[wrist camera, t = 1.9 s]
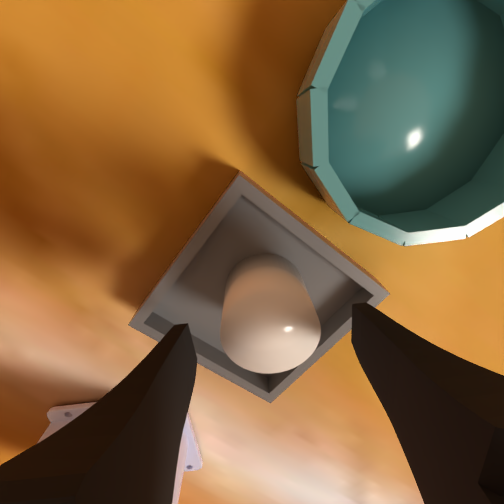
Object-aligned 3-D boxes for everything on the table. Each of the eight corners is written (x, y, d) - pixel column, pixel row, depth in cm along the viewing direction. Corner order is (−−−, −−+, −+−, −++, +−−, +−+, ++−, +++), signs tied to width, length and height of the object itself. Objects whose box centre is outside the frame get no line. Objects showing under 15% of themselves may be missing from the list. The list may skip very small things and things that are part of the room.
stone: (231, 325, 17) (228, 378, 13) (219, 258, 15) (211, 298, 11) (304, 316, 17) (322, 367, 13) (300, 248, 15) (319, 285, 11)
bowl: (301, 232, 15) (316, 257, 12) (287, -4, 11) (304, -58, 8) (490, 208, 15) (555, 227, 12) (542, -41, 11) (659, -112, 8)
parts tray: (268, 380, 19) (270, 403, 18) (139, 306, 17) (128, 325, 15) (375, 277, 16) (390, 293, 15) (239, 170, 14) (239, 174, 12)
